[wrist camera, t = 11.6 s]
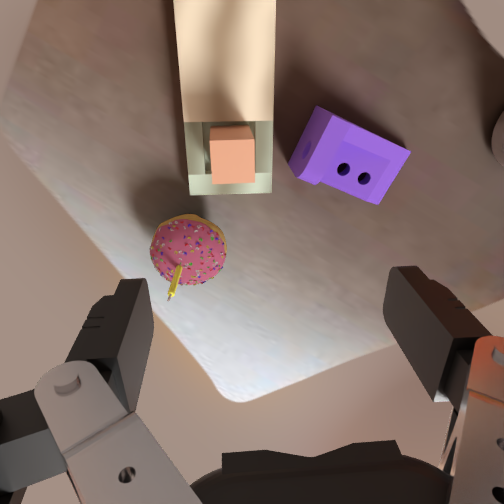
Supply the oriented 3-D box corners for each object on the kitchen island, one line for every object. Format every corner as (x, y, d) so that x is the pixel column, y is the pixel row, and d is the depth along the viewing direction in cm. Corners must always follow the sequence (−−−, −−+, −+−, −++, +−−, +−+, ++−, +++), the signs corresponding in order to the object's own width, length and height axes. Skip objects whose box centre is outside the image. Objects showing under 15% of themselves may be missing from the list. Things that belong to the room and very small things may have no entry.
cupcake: (192, 275, 49) (185, 337, 39) (140, 233, 46) (117, 289, 35) (239, 233, 47) (246, 287, 36) (189, 186, 44) (180, 230, 33)
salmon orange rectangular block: (248, 124, 40) (254, 139, 34) (249, 162, 42) (255, 182, 36) (210, 126, 40) (209, 140, 33) (213, 163, 41) (212, 184, 35)
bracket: (287, 162, 44) (298, 181, 38) (315, 104, 41) (332, 115, 35) (373, 200, 47) (396, 222, 41) (405, 148, 44) (435, 164, 38)
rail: (274, -112, 32) (278, -123, 30) (268, 185, 44) (271, 192, 42) (166, -115, 31) (162, -127, 29) (191, 187, 44) (190, 195, 41)
